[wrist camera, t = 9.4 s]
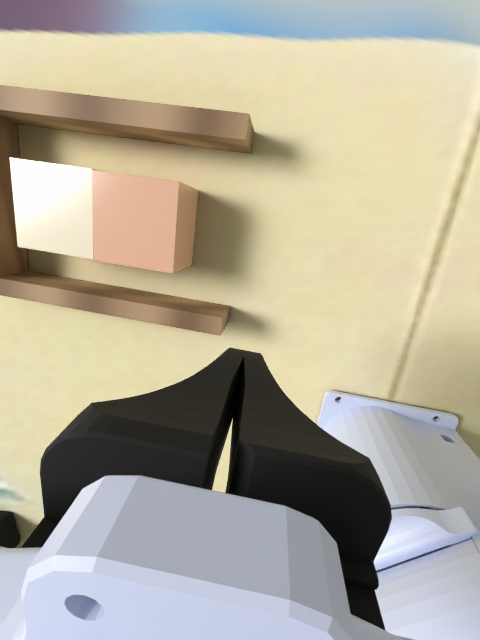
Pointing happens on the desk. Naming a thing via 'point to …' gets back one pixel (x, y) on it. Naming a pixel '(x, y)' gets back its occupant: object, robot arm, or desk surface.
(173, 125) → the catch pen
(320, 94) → the desk surface
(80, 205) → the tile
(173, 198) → the pink cube-like block
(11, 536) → the battery
